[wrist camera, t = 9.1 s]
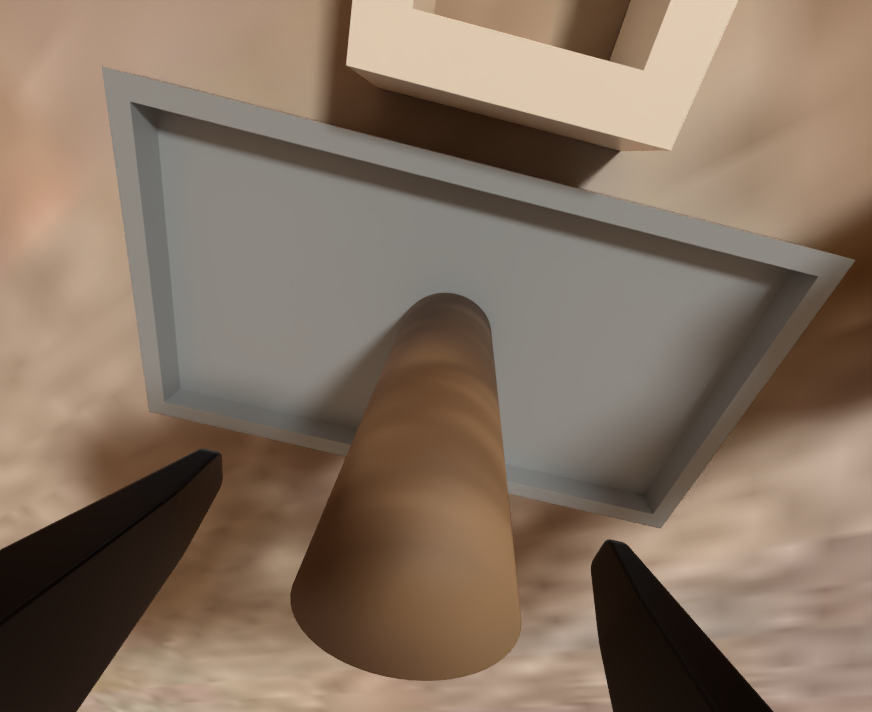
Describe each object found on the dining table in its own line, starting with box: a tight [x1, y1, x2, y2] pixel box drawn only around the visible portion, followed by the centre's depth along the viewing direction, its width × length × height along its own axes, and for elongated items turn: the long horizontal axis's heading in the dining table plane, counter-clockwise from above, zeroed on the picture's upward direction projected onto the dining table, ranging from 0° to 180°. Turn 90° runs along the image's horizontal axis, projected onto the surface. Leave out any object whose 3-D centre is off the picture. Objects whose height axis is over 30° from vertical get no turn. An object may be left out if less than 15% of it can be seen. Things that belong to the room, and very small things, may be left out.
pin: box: [290, 293, 521, 681], centre depth 12 cm, size 4×4×12 cm
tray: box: [102, 67, 855, 528], centre depth 17 cm, size 26×14×2 cm, turn 77°
